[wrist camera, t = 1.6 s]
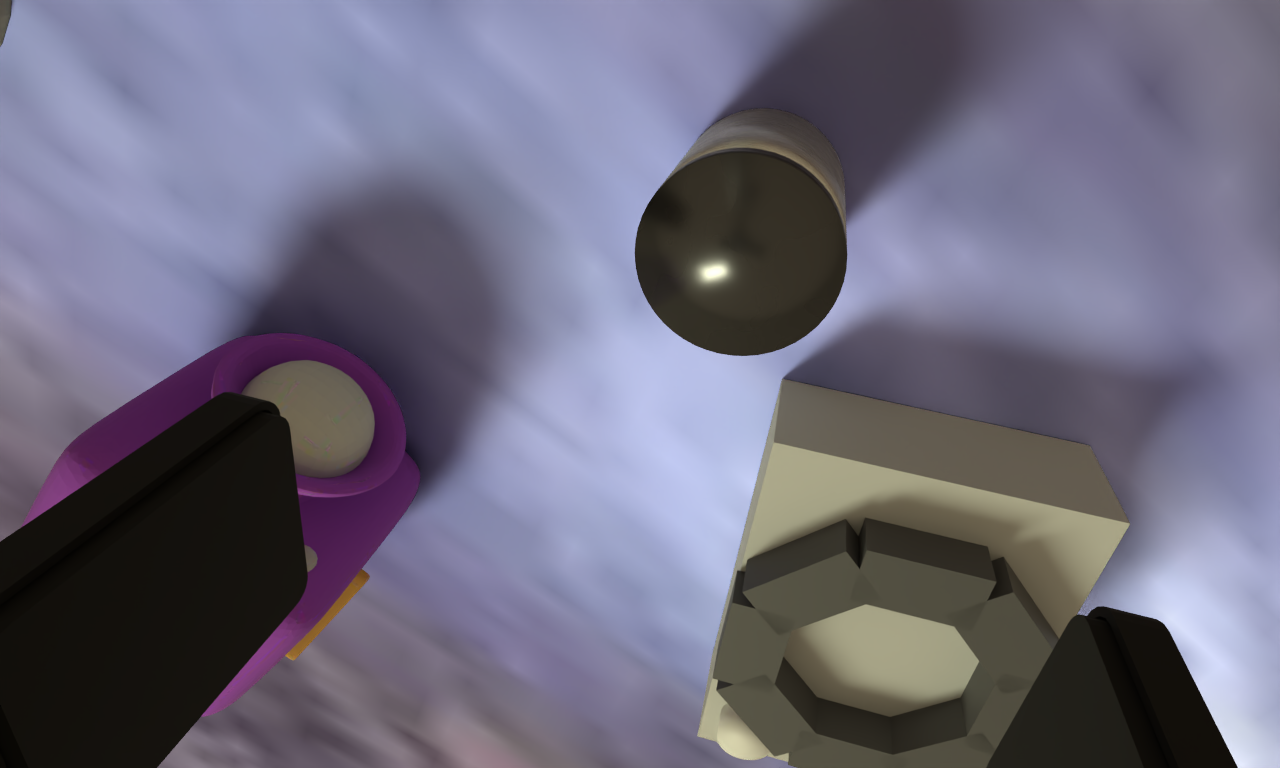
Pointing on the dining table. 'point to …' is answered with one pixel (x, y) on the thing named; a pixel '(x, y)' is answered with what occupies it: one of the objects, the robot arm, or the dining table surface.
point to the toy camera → (323, 456)
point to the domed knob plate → (900, 583)
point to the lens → (747, 235)
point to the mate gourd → (4, 17)
